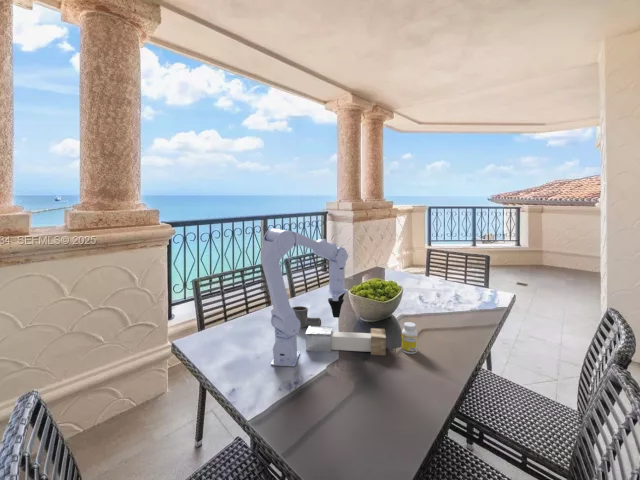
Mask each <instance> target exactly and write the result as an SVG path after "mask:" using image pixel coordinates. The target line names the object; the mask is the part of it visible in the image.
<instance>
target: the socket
mask: <svg viewBox="0 0 640 480" xmlns="http://www.w3.org/2000/svg"><path fill="white" fill-rule="evenodd" d="M370 333H371V352H370V355H371V356H384V357H385V356H386V355H387V336H386V330H385V328H375V327H373V328H372V327H371V328H370Z"/></svg>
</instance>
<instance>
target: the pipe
mask: <svg viewBox="0 0 640 480" xmlns="http://www.w3.org/2000/svg"><path fill="white" fill-rule="evenodd" d="M291 308H292V309H293V310H294V312H295V314H296V317H297V318H298V319H299V321H300V324H301V326H300V329H301V328H308V327H309V326H319V327H322V319H321V318H320V317H308V313H309V312H308V311H309V308H308V307H306V306H301V305H296V306H291Z"/></svg>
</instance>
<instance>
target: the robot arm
mask: <svg viewBox="0 0 640 480" xmlns="http://www.w3.org/2000/svg"><path fill="white" fill-rule="evenodd" d="M261 239H262V243H263V244H262V249H261V254H260V262H261V265H262V269H263V273H264V276H265V277H264V278H265V281H266V284H267V288H268V289H267V290H268V292H269V296H270V300H271V302H272V303H271V304H272V309H271V310H270V313H271V316H270V317H271V319H270V323H271V326H272V327H273V328H274V344H273V347H272V351H273V352H272V353H273V356H272V357H273V359H272V361H271V362H270V365H271V366H277V367H278V366H279V367H280V366H281V367H296V364H297V361H298V359H299V356H300V354H301V351H298V344H297V343H298V340H297V339H298V337H297V335H298V333H299V331H300V329H301V328H300V326H301V324H300V321H299V319H298V318H297V317H296V314H295V312H294V310H293V309H292V306H291V305H290V300H289V296H288V293H287V288H286V285H285V281H284V276H283V272H282V268H281V265H280V264H281V263H280V261H281V260H282V258H283V257H284V256H285V255H286V254H287V253H288V252H289V251H290V250H292V249H293V248H294V247H298V246H301V247H303V248H307V249H310V250H312V252H313V254H314V255H316V256H318V257H321V258H323V259H326V260H327V261H328V263H329V264H328V266H329V267H328V270H329V271H328V276H329V277H328V278H329V282H328V283H329V287H328V288H329V289H328V292H329V294H330V295H331V297H329V298H328V299H327V301H328V303H329V306H330V310H331V313H332V317H333V318H338V319H339V318H340V316H341V310H342V305H343V304H344V301H345V300H344V297H345V294H347V293H348V292H349V289H347V288H346V289H345V287H346V285H345V282H346V281H345V280H346V277H345V273H346V271H345V268H346V265H347V261H348V259H349V253H348V252H347V250H346V248H344V247H342V246H337V244H336V243H331V242H328V239H325V238H322V239H319V238H318V239H317V240H314V239H312V238H311V237H308V236H306V235H303V234H301V233H299V232H296V231H291V230H288V229H286V230H284V229H279V228H275V227H273V228H269V229H268V230H266V232H265V234H264V236H263V237H262V238H261Z"/></svg>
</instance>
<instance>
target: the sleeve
mask: <svg viewBox="0 0 640 480" xmlns="http://www.w3.org/2000/svg"><path fill="white" fill-rule="evenodd" d="M332 332H333V326H320V327H319V326H309V327H307V329H306V331H305V351H306V352H320V353H331V352H332V350H331V333H332Z"/></svg>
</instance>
